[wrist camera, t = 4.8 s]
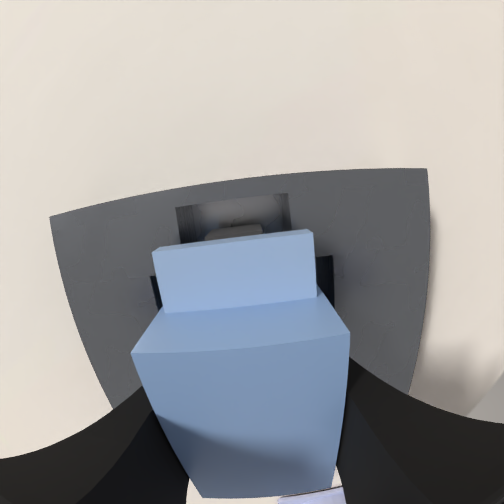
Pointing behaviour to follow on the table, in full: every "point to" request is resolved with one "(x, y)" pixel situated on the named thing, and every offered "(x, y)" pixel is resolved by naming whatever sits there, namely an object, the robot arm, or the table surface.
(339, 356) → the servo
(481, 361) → the table surface
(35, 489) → the robot arm
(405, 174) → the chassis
